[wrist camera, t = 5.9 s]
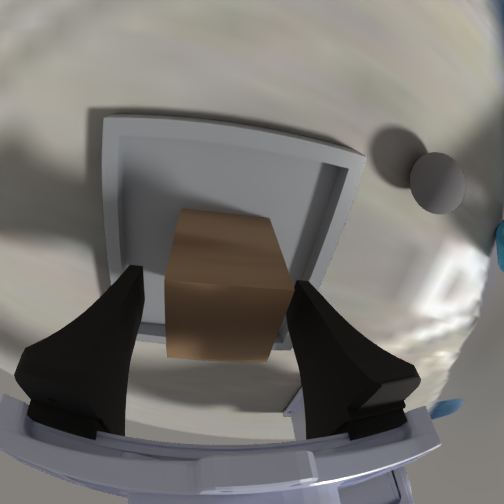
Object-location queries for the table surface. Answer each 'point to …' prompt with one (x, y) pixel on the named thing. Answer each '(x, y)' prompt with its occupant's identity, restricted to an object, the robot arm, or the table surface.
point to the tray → (219, 195)
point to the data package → (500, 245)
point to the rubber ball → (437, 183)
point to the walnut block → (224, 288)
